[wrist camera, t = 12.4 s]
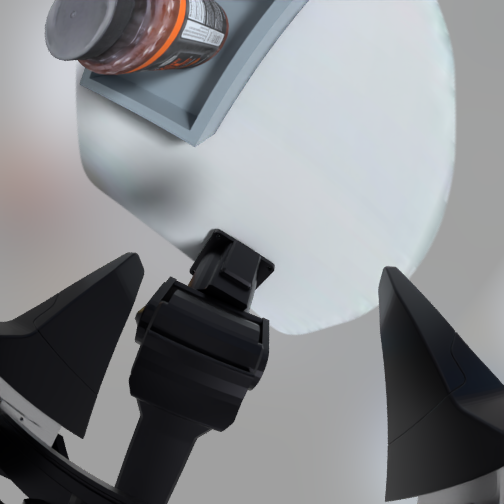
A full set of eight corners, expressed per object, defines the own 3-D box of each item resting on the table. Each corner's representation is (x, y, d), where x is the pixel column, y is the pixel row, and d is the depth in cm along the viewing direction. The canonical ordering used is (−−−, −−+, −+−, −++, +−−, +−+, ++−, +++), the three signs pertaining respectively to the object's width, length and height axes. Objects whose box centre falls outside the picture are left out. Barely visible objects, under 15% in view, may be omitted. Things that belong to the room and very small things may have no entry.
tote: (214, 133, 19) (194, 147, 16) (110, 78, 17) (79, 84, 14) (310, -3, 12) (310, -20, 9) (183, -49, 10) (159, -65, 7)
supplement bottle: (157, 75, 16) (34, 103, 7) (151, 8, 13) (30, -6, 4) (234, 63, 15) (140, 58, 6) (229, -10, 12) (139, -74, 3)
